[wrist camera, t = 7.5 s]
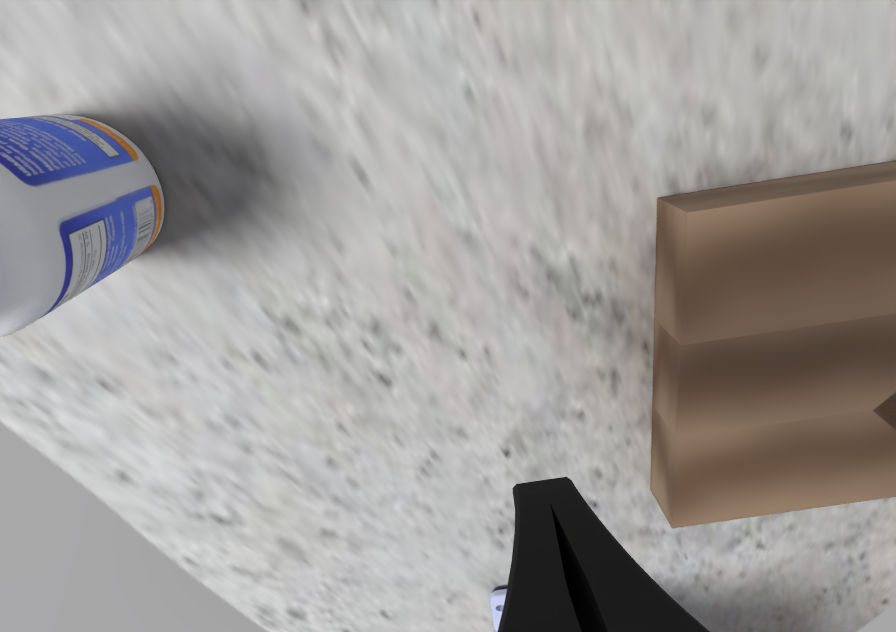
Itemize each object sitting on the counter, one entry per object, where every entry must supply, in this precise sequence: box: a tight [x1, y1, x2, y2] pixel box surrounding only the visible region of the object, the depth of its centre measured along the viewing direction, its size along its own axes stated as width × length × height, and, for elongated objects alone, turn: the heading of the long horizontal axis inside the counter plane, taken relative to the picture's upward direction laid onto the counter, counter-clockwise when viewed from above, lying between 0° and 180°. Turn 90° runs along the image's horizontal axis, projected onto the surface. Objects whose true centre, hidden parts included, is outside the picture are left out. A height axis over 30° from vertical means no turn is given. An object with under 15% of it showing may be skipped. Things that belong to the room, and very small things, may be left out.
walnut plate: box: [651, 161, 896, 528], centre depth 22 cm, size 15×18×2 cm
